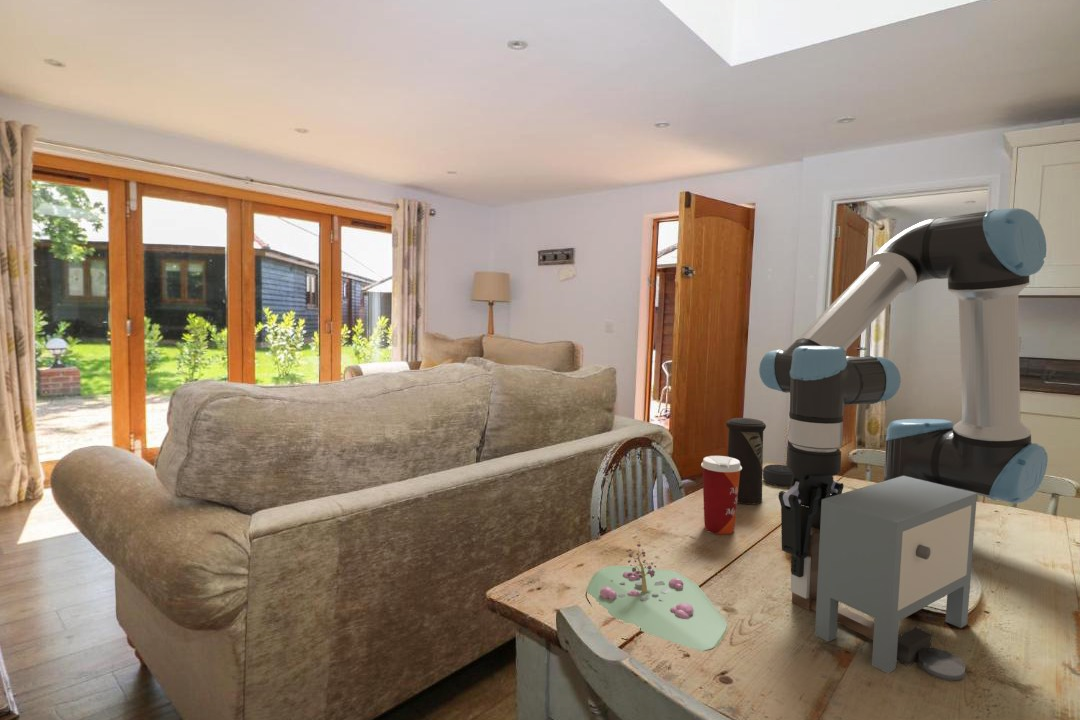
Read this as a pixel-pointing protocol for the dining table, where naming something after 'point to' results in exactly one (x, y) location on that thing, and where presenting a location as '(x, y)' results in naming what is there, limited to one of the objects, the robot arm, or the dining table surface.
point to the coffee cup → (720, 493)
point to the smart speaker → (777, 475)
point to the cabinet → (894, 557)
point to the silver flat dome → (941, 664)
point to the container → (747, 456)
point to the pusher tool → (906, 642)
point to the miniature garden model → (659, 603)
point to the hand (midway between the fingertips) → (807, 590)
